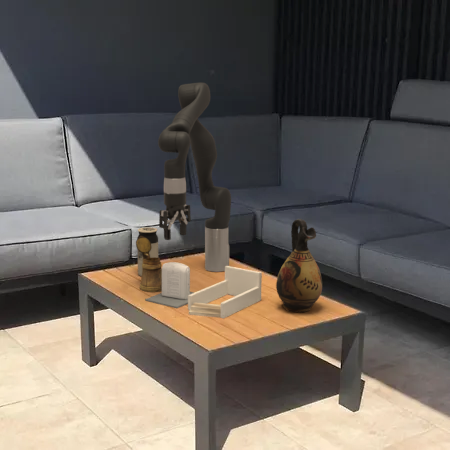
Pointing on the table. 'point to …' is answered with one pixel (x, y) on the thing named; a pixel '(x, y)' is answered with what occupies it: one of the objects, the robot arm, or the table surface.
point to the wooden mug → (149, 267)
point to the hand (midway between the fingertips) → (175, 237)
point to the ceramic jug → (299, 272)
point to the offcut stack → (205, 310)
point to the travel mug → (153, 238)
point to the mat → (168, 300)
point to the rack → (232, 291)
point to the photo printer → (175, 280)
